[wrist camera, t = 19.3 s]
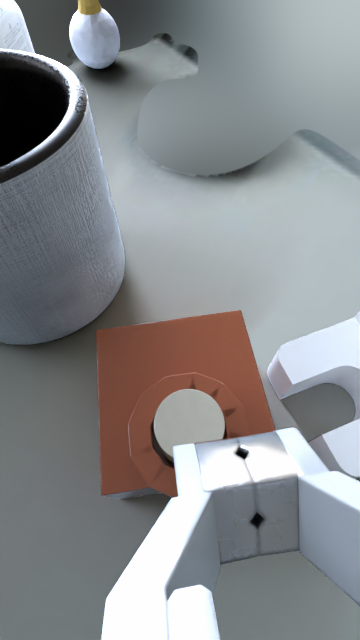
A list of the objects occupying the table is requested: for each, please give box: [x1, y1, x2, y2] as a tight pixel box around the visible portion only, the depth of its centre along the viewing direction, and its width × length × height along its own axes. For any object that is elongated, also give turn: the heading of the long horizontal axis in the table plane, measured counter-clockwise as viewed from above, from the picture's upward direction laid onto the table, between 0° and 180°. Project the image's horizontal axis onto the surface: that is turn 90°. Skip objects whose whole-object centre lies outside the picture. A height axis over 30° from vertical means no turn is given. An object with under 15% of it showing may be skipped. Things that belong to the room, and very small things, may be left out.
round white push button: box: [154, 389, 225, 463], centre depth 17 cm, size 3×3×2 cm
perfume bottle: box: [69, 0, 120, 69], centre depth 49 cm, size 8×10×12 cm
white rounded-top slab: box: [0, 0, 35, 54], centre depth 41 cm, size 10×4×12 cm, turn 174°
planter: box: [0, 49, 125, 345], centre depth 26 cm, size 16×16×16 cm
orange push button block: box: [96, 310, 275, 499], centre depth 22 cm, size 11×10×8 cm
